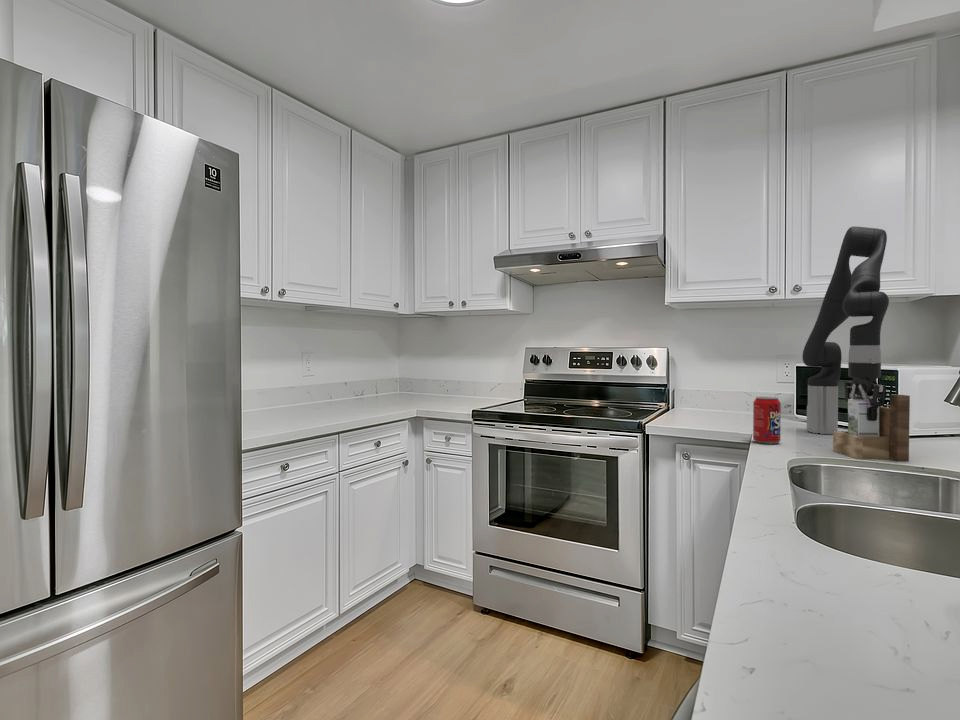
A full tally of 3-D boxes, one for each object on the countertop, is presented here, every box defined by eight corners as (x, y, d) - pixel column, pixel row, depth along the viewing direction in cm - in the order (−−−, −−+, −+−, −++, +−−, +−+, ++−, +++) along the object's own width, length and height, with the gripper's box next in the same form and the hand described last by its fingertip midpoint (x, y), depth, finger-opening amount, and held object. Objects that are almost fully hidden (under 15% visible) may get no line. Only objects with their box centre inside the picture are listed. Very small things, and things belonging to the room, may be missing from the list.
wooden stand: (826, 449, 157) (826, 390, 156) (865, 449, 156) (866, 390, 156) (865, 461, 140) (865, 395, 139) (908, 461, 139) (909, 395, 139)
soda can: (749, 440, 172) (750, 395, 172) (775, 440, 171) (775, 396, 171) (757, 444, 165) (757, 398, 164) (784, 445, 163) (784, 398, 163)
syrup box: (880, 451, 145) (881, 400, 144) (857, 450, 146) (857, 400, 145) (869, 447, 150) (869, 398, 150) (846, 447, 151) (847, 398, 151)
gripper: (835, 360, 155) (834, 415, 155) (868, 362, 140) (867, 422, 141) (860, 360, 154) (860, 415, 155) (896, 361, 140) (896, 422, 140)
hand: (863, 418), depth 148 cm, fingers open, 6 cm apart
